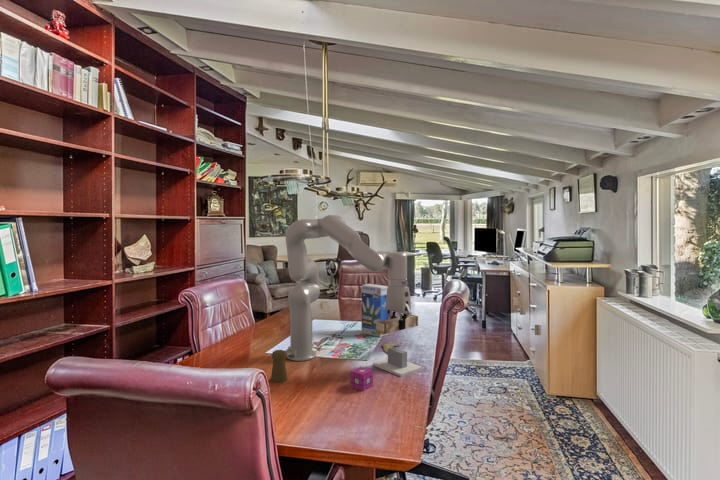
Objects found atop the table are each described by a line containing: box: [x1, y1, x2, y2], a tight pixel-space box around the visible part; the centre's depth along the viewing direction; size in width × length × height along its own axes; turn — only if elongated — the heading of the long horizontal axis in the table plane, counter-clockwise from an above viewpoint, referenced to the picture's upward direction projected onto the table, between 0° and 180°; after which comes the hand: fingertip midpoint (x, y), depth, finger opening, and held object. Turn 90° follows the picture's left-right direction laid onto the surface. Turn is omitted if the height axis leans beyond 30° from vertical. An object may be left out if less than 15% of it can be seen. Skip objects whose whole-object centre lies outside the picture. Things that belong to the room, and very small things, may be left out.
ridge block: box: [372, 346, 423, 377], centre depth 156 cm, size 12×16×7 cm
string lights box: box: [361, 283, 390, 338], centre depth 205 cm, size 13×8×26 cm, turn 49°
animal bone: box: [381, 342, 403, 355], centre depth 175 cm, size 21×2×10 cm
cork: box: [270, 349, 288, 384], centre depth 143 cm, size 6×6×11 cm
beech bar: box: [376, 314, 419, 335], centre depth 156 cm, size 20×4×4 cm, turn 130°
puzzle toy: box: [350, 366, 374, 392], centre depth 138 cm, size 6×6×6 cm
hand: (397, 327), depth 156 cm, fingers closed on beech bar, 4 cm apart
